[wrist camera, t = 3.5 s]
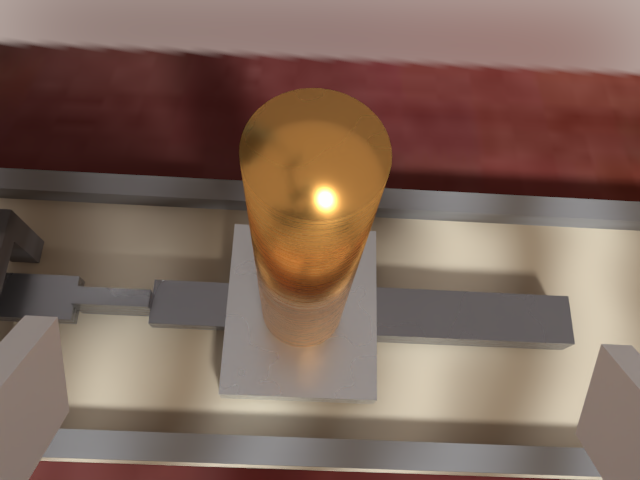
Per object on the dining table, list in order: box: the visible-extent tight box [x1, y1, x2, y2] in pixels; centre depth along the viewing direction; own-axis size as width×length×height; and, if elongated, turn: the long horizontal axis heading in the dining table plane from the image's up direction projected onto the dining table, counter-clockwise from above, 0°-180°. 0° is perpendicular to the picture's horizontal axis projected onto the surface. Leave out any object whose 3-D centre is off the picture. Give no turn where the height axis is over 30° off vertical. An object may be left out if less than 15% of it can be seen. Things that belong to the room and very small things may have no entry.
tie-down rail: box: [0, 168, 640, 480], centre depth 24 cm, size 49×12×5 cm, turn 88°
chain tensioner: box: [0, 88, 575, 404], centre depth 18 cm, size 32×7×13 cm, turn 88°
